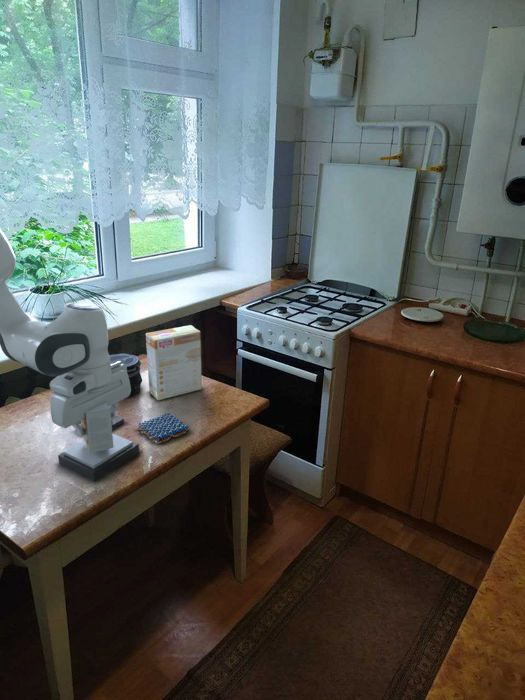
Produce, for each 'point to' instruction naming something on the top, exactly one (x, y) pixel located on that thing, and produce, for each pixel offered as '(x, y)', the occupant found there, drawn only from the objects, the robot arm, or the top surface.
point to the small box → (98, 428)
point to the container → (130, 370)
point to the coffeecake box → (174, 361)
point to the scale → (98, 458)
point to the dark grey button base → (116, 422)
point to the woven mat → (163, 428)
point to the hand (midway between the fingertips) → (96, 427)
